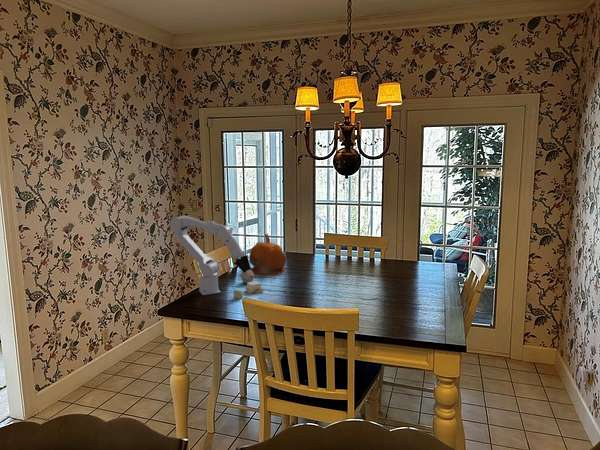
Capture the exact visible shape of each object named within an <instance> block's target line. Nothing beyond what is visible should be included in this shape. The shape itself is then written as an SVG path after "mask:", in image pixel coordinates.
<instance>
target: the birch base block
mask: <svg viewBox="0 0 600 450" xmlns="http://www.w3.org/2000/svg"><path fill="white" fill-rule="evenodd" d="M245 291H246V292H247V293H248V294H249V295H255V294H259V293H260V292H261V293H264V288H263V287H262V286H261V288H260V289H253V290H250V289H249V288H248V287H247V286H246V287H245Z"/></svg>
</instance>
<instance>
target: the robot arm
mask: <svg viewBox="0 0 600 450" xmlns="http://www.w3.org/2000/svg"><path fill="white" fill-rule="evenodd" d="M169 223H170V226H169V227H170V229H171V230H172V231H173V234H174V237H175V240H177V242H179V243H180V244H181V246H182V247H183V248H184V249H185V250H186V251H187V252H188V254H189V255H190V256H191V257H192V258H193V259H194V260H195V261H196V262H197V263H198V265H197V268H198V269H199V270H200V273H201V274H202V276H199V277H198V286H199V293H200V294H201V295H202V296H207V295H213V294H214V295H215V294H220V293H222V292H221V290H219V274H218V273H219V272H218V271H220V268H221V267H220V264H219V262H218V261H216V260H214V259H213V257H209V256H207V255H206V254H205V253H204V251H202V249H200V247H199V246H198V245H197V244H196V243H195V241H193V239H192V238H191V237H190V236H189V235H188V231H189V227H190V226H192V227H196V228H199V229H203V230H204V231H205V232H206V233H207V234H208V233H209V234H212V235H214V236H217V237H218V238H219V239H220V240H222V241H223V243H224V245H225V246H226V248H227V250H228V252H229V253H230V256H231V257H232V259H233V260H234V261H235V262H233V264H234V265H235V266H236V267H237V268H239V270H240V271H241V273H242V272H243V273H244V272H246V271H248V270H250V269H251V268H252V267H251V263H250V261H249V255H248V254H245V253H246V250H245V251H244V250H243V249H242V247H241V246H240V244H239V243H238V241H237V239H236V236H234V234H233V228H232V227H231V226H230V225H228V224H224V225H223V224H222V223H220V224H219V223H217V222H215V221H213V220H210V221H207V222H206V221H203V220H199V219H197V218H195V217H192V216H189V215H185V214H183V215H181V216H174V217H173V218H172V219H170V222H169Z"/></svg>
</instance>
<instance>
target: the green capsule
mask: <svg viewBox="0 0 600 450" xmlns="http://www.w3.org/2000/svg"><path fill="white" fill-rule="evenodd" d="M243 296H244V295H243V290H242V289H241V288H239V289H234V290H233V300H235V301H240V300H243Z"/></svg>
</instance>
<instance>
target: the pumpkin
mask: <svg viewBox="0 0 600 450" xmlns="http://www.w3.org/2000/svg"><path fill="white" fill-rule="evenodd" d="M264 236H265V238H264V239H265V242H262V241H258V242H256V243H255V244H254V245H253V247H252V248H251V249H250V251H249V255H248V260H249V264H250V265H252V266H253V267H251V269H250V270H252V269H253V270H252V271H253V274H254V276H256V275H257V276H273V275H274V276H275V275H279V274H282V273H284V272H285V271H286V268H285V265H286V262H287V255H285V254H284V251H283V248H282V247H281V245H279V244H276V243H274V242H271V239H270V237H269V234H268V233H265V235H264Z"/></svg>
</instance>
